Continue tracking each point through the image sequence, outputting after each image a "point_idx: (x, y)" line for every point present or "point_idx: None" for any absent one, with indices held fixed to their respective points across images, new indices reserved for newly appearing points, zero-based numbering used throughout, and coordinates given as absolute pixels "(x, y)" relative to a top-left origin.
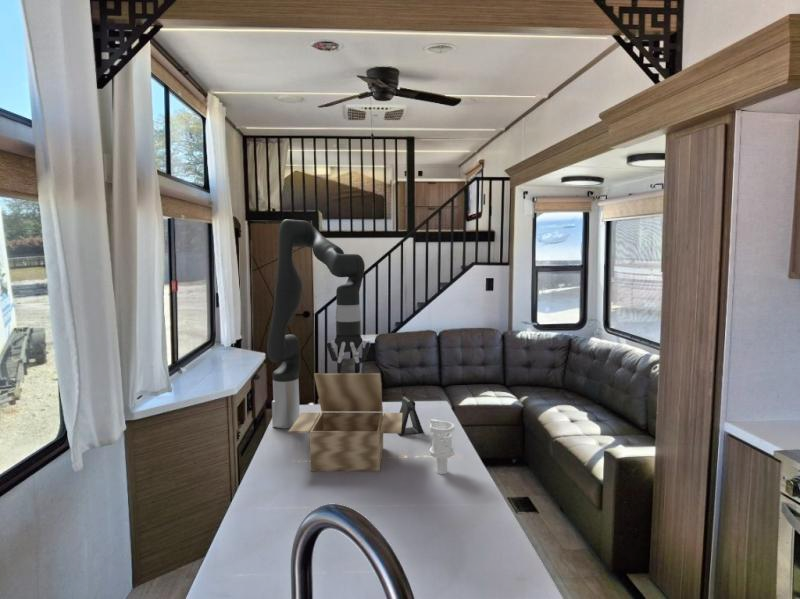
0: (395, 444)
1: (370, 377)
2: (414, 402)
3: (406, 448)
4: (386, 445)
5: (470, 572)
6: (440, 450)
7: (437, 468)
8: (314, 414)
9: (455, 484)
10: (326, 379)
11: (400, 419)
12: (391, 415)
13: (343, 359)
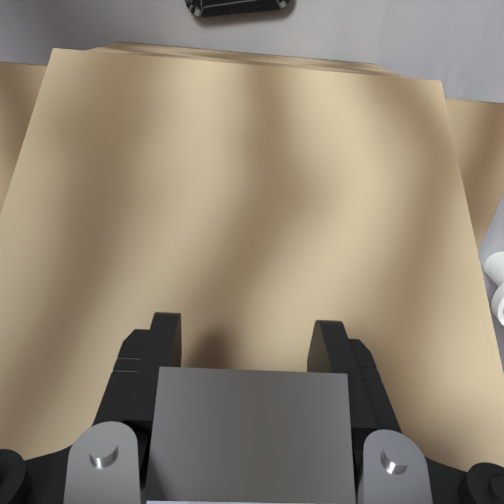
0: (431, 24)
1: (428, 430)
2: None
3: (462, 76)
4: (391, 34)
5: None
6: None
7: (490, 275)
8: (31, 102)
9: (497, 320)
10: (58, 390)
11: (487, 212)
12: (465, 150)
13: (163, 497)
